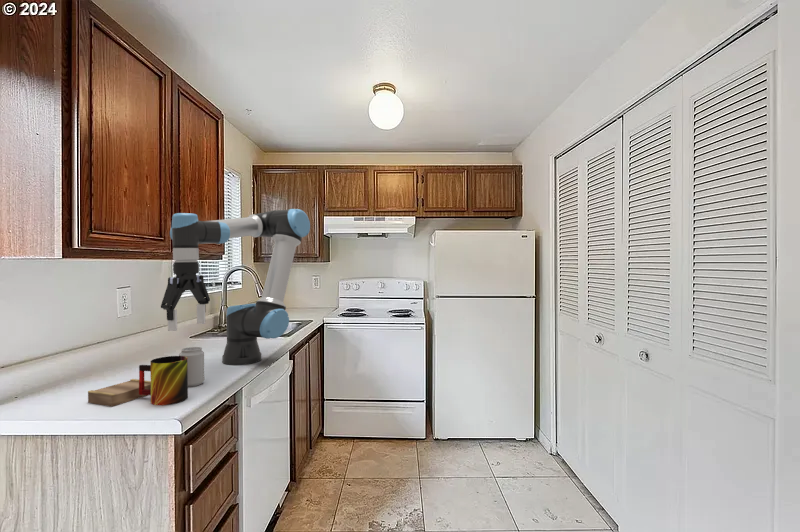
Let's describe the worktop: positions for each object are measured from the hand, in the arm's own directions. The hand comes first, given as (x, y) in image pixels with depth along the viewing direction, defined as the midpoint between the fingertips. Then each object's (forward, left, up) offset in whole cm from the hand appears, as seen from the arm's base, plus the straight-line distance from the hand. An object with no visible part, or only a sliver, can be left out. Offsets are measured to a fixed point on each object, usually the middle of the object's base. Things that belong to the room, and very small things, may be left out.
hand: (187, 327), depth 142 cm
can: (-3, -1, -20) cm, 20 cm away
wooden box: (+15, -9, -20) cm, 26 cm away
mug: (+13, +4, -20) cm, 24 cm away
